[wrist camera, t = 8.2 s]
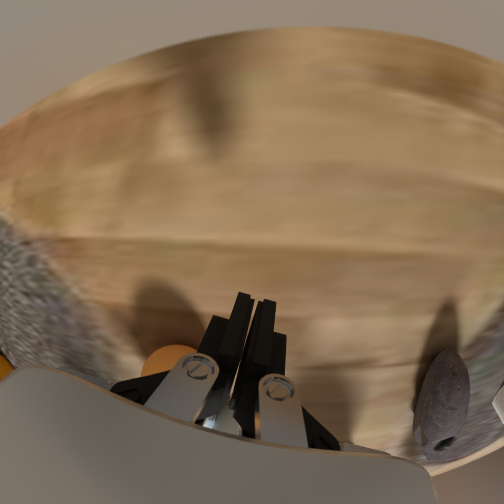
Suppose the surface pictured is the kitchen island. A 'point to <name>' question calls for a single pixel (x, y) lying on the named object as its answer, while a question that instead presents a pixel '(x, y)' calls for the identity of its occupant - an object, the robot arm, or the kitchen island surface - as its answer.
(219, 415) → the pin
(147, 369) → the ball
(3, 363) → the beer bottle
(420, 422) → the perforated stone tool
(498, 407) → the cylindrical container
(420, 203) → the kitchen island surface
